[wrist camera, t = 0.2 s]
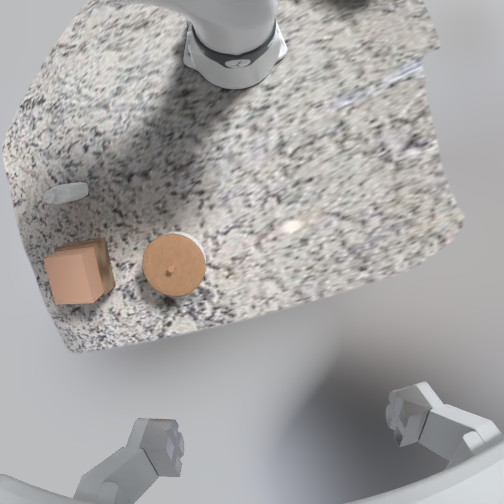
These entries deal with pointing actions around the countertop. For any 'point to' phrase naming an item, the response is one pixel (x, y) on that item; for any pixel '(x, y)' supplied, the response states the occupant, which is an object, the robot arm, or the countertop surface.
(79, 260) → the terracotta top block
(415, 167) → the countertop surface
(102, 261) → the walnut base block
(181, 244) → the lidded jar
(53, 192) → the eye dropper bottle
